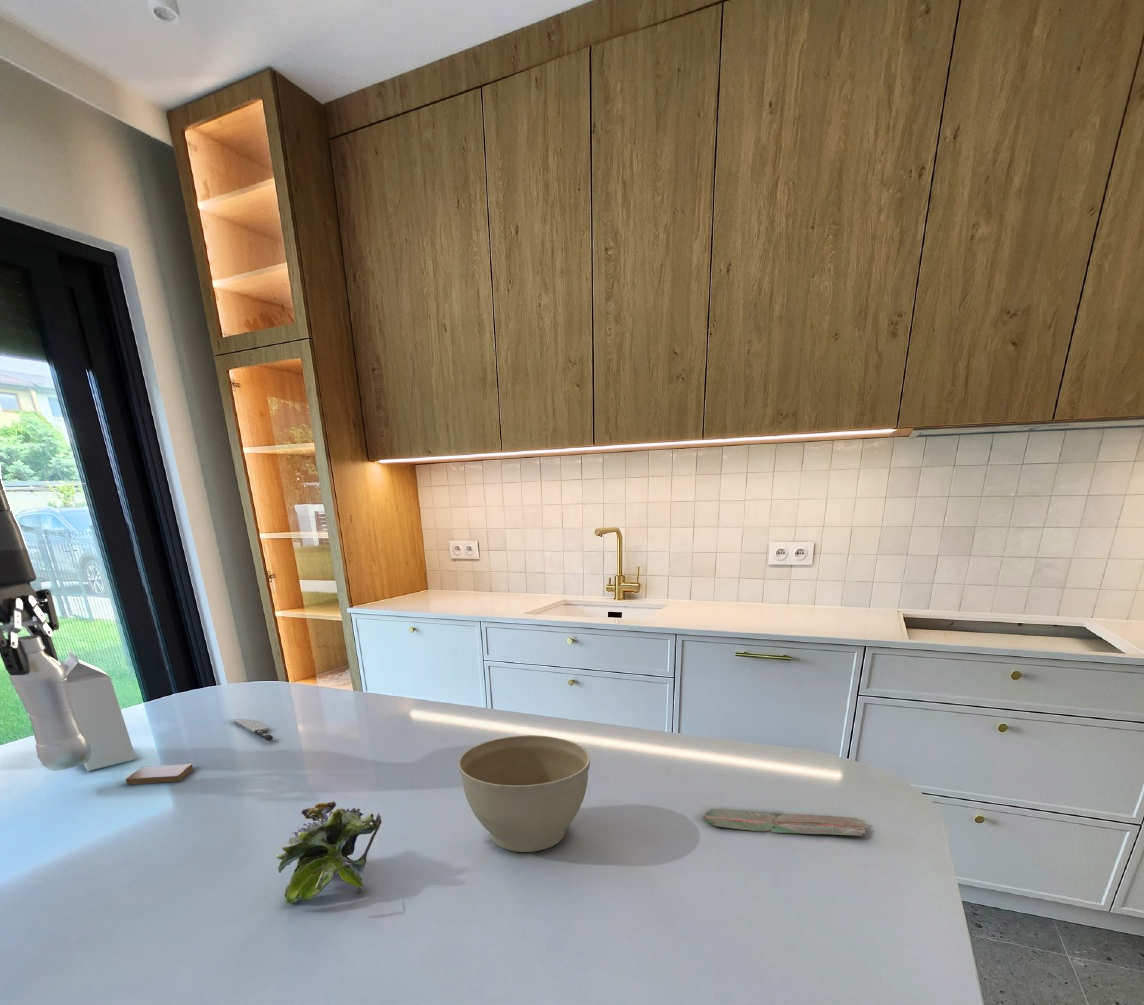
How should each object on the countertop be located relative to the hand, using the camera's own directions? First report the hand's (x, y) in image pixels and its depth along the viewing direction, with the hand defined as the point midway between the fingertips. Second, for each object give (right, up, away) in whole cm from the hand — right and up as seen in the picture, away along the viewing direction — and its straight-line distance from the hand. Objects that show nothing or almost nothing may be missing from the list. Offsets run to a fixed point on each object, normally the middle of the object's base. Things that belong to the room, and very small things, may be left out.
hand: (34, 668), depth 94 cm
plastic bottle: (+1, -15, +6) cm, 16 cm away
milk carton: (-2, -14, +18) cm, 23 cm away
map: (+106, -22, -10) cm, 108 cm away
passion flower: (+51, -28, -19) cm, 62 cm away
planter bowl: (+73, -23, -10) cm, 77 cm away
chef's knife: (+17, -7, +31) cm, 36 cm away
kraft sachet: (+11, -16, +11) cm, 23 cm away
